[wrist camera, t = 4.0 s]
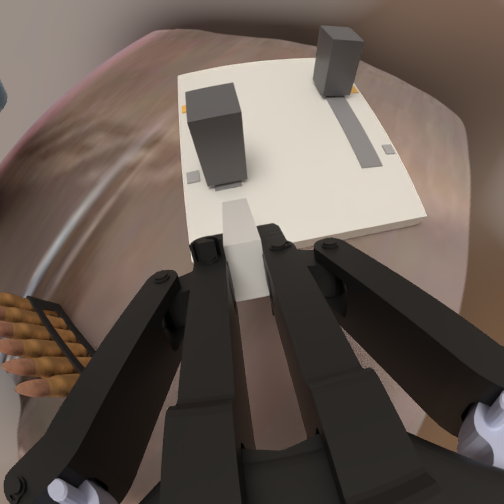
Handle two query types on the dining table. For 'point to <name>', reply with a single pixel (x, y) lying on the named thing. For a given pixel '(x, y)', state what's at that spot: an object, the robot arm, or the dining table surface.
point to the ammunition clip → (41, 345)
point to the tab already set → (336, 60)
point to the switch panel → (300, 158)
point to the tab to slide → (217, 133)
